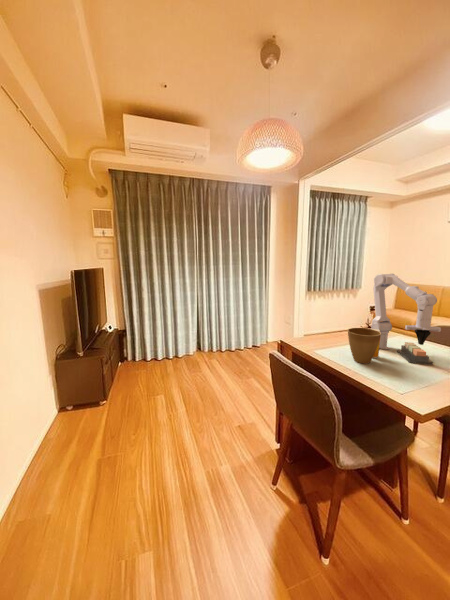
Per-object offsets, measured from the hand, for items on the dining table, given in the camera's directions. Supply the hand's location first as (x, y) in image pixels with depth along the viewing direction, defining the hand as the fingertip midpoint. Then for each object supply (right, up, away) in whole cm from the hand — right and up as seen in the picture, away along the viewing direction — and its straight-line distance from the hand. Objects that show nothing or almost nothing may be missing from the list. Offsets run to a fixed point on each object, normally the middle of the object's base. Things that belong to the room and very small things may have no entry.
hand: (420, 344), depth 124 cm
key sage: (+1, -5, +6) cm, 8 cm away
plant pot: (-29, -9, +3) cm, 30 cm away
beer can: (-20, -9, +9) cm, 23 cm away
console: (+1, -9, +7) cm, 11 cm away
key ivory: (+3, -5, +11) cm, 12 cm away
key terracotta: (0, -6, +1) cm, 6 cm away
